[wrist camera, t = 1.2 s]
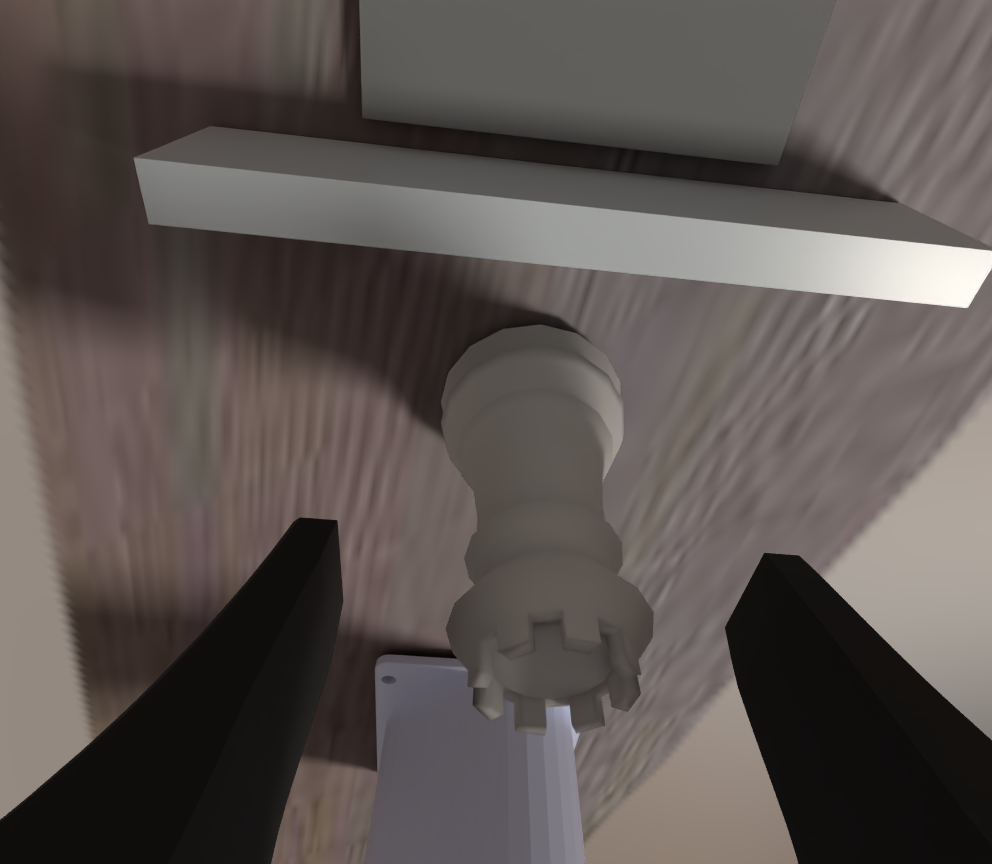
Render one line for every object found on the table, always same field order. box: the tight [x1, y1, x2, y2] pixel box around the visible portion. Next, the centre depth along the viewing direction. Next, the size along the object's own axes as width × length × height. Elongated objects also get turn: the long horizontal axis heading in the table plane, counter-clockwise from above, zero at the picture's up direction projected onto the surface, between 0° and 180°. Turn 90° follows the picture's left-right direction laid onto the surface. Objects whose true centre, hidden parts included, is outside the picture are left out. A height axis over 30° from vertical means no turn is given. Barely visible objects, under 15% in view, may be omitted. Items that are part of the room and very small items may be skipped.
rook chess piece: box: [441, 325, 653, 736], centre depth 12 cm, size 4×4×8 cm
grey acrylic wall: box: [134, 126, 992, 308], centre depth 11 cm, size 1×14×3 cm, turn 84°
